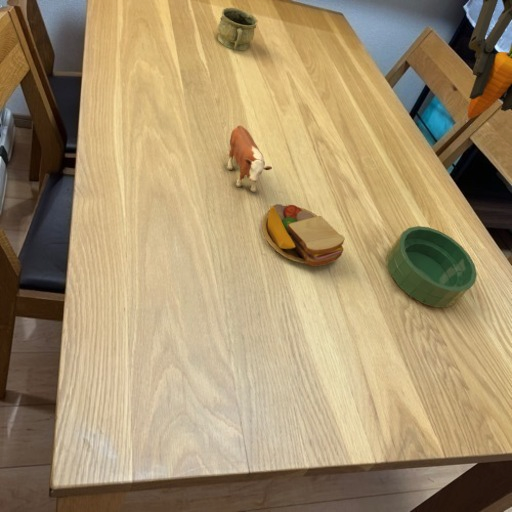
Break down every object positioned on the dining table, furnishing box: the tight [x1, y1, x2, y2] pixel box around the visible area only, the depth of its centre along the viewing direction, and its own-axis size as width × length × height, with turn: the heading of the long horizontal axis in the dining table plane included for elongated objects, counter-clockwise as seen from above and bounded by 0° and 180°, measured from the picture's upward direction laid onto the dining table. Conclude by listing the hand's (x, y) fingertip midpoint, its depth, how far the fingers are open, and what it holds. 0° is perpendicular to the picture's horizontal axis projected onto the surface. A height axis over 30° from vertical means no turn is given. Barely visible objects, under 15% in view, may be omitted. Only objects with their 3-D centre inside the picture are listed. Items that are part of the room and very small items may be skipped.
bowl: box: [386, 225, 478, 308], centre depth 81 cm, size 14×14×5 cm
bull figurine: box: [226, 124, 273, 193], centre depth 83 cm, size 4×13×8 cm, turn 16°
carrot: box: [467, 43, 512, 119], centre depth 79 cm, size 5×5×15 cm
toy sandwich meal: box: [261, 203, 346, 267], centre depth 78 cm, size 12×14×5 cm
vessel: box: [217, 7, 258, 51], centre depth 117 cm, size 12×9×6 cm
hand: (491, 102), depth 78 cm, fingers closed on carrot, 5 cm apart
